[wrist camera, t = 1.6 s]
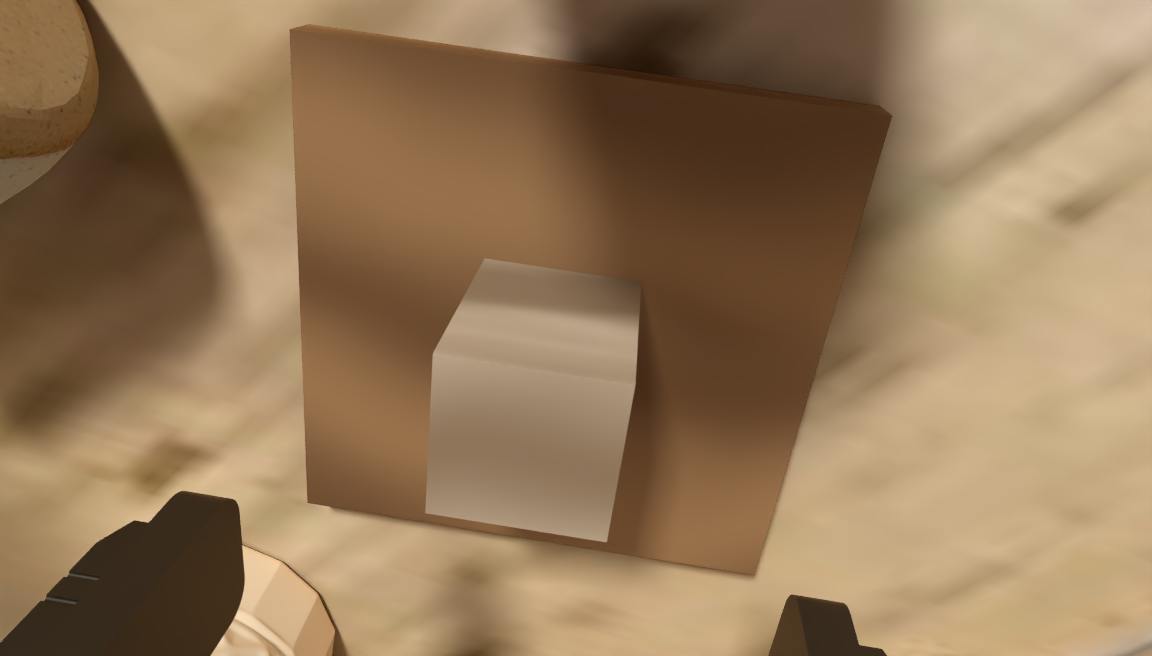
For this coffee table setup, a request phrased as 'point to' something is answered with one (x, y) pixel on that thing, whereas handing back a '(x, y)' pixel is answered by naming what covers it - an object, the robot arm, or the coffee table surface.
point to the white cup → (276, 614)
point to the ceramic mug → (42, 87)
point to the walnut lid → (563, 290)
